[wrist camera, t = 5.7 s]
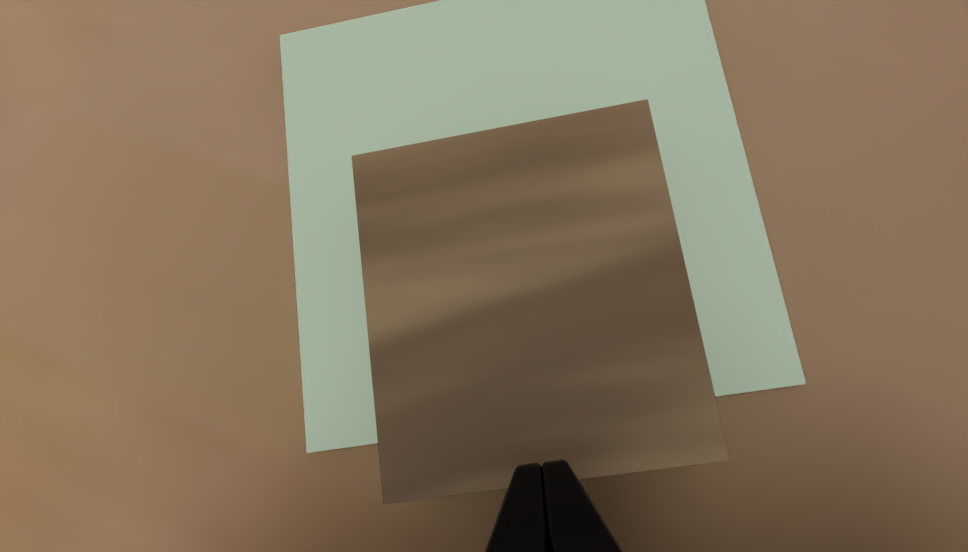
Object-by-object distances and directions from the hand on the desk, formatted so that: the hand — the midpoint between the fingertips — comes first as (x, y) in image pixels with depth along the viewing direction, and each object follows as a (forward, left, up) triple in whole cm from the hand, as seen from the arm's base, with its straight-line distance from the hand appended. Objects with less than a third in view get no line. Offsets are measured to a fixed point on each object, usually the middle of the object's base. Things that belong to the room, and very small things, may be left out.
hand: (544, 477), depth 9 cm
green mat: (+6, +5, -7) cm, 10 cm away
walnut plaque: (0, 0, -5) cm, 5 cm away
